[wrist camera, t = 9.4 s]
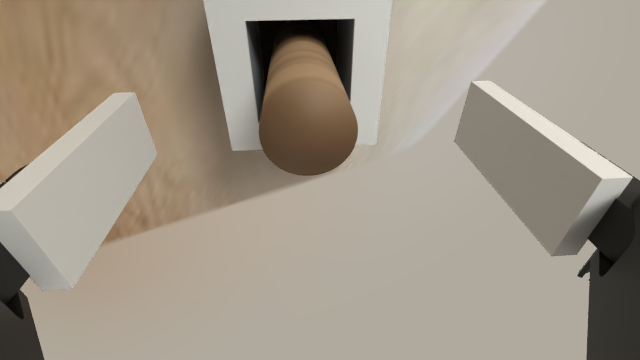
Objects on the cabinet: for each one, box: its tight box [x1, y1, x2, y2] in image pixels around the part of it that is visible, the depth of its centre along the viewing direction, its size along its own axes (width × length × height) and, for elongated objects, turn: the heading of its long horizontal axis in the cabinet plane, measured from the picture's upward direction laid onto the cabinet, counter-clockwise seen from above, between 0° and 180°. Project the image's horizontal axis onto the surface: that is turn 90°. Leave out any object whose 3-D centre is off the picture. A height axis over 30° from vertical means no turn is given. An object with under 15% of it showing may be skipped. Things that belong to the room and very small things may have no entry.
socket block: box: [203, 0, 392, 151], centre depth 22 cm, size 10×10×7 cm
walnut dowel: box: [259, 20, 358, 175], centre depth 19 cm, size 4×4×15 cm
